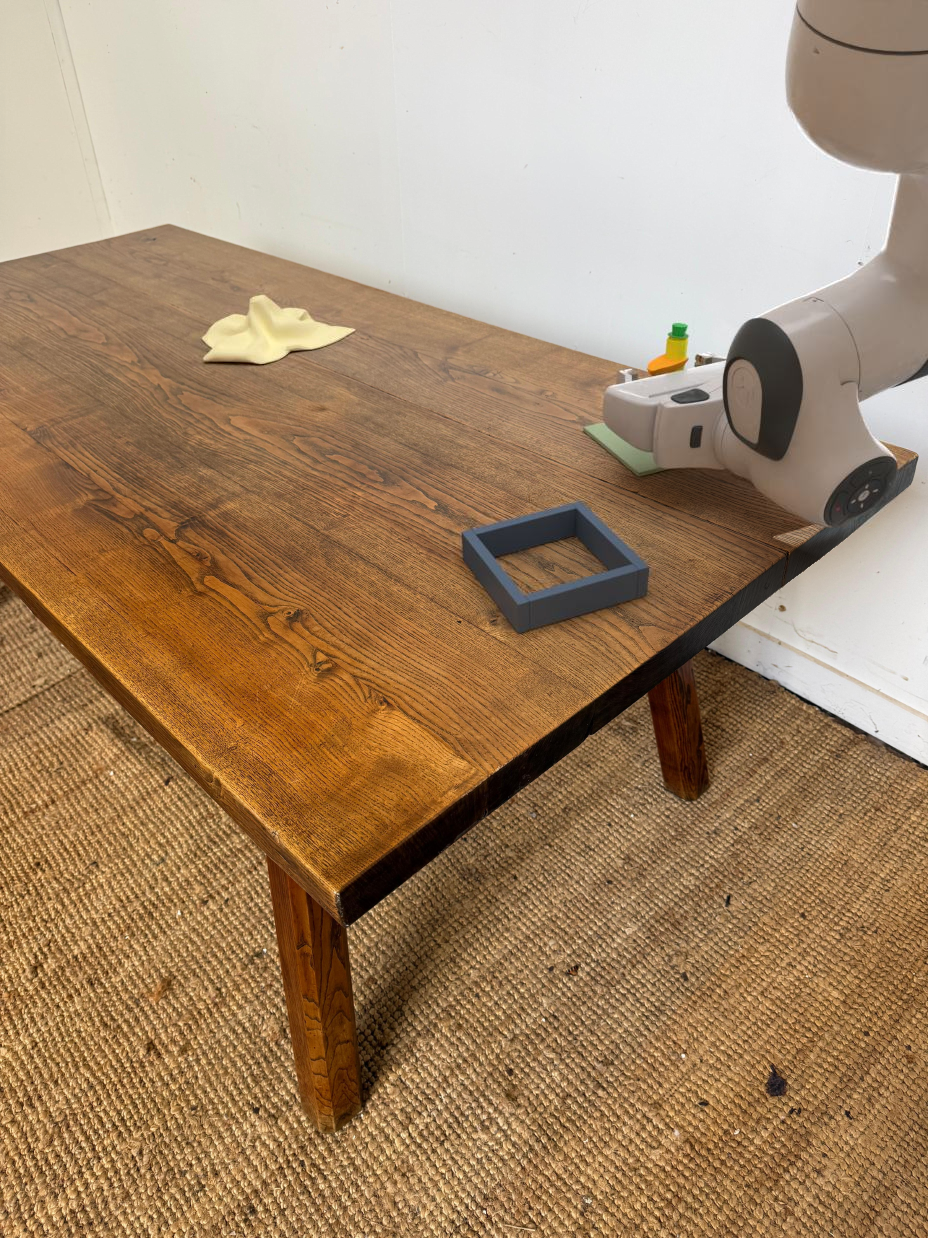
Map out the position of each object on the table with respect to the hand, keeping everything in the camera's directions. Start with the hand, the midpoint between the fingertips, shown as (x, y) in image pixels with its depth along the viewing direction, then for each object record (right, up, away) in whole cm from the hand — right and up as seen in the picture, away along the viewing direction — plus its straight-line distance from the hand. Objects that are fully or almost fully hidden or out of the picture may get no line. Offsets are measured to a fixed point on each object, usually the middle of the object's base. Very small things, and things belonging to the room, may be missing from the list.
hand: (662, 367), depth 92 cm
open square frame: (-13, -23, -15) cm, 30 cm away
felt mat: (+1, -7, +5) cm, 8 cm away
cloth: (-48, +14, +36) cm, 62 cm away
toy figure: (+1, -6, +5) cm, 8 cm away
